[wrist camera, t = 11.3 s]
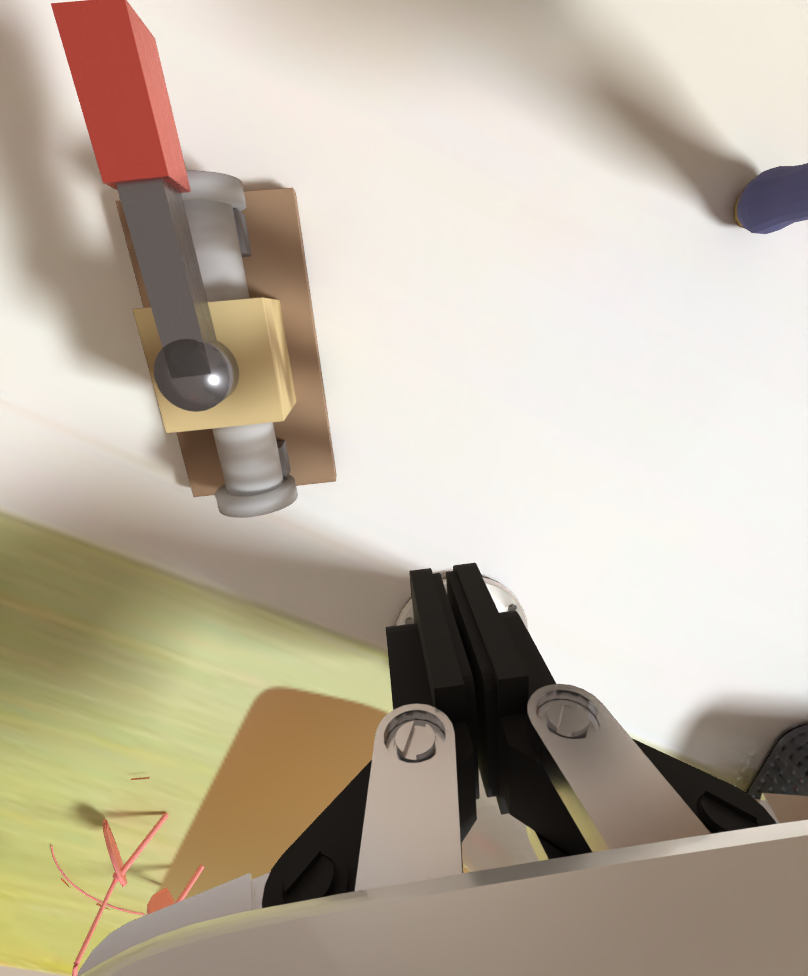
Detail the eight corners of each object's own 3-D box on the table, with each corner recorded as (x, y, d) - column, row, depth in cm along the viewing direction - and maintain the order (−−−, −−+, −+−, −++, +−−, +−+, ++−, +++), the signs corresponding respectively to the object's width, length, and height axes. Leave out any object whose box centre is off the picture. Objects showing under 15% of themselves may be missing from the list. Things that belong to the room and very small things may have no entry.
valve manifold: (336, 475, 39) (330, 520, 30) (199, 490, 38) (155, 541, 30) (295, 193, 32) (273, 150, 23) (126, 206, 31) (40, 167, 23)
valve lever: (246, 398, 27) (234, 408, 24) (183, 405, 27) (163, 417, 24) (163, 37, 21) (134, -4, 18) (82, 45, 21) (40, 4, 18)
